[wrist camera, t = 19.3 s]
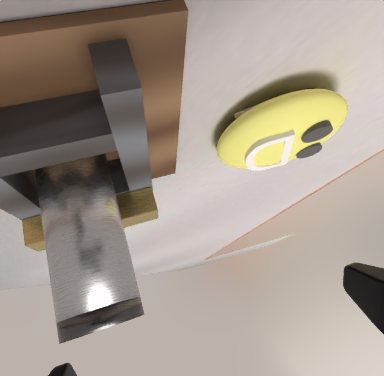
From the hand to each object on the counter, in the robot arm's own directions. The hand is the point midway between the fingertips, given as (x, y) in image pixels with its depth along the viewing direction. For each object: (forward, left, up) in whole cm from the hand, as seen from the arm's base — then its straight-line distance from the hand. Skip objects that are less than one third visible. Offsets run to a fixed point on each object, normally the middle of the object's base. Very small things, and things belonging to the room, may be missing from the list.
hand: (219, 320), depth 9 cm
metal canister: (+9, -5, -13) cm, 16 cm away
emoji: (+13, +13, -14) cm, 23 cm away
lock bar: (+13, -5, -10) cm, 17 cm away
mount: (+9, -5, -14) cm, 17 cm away
